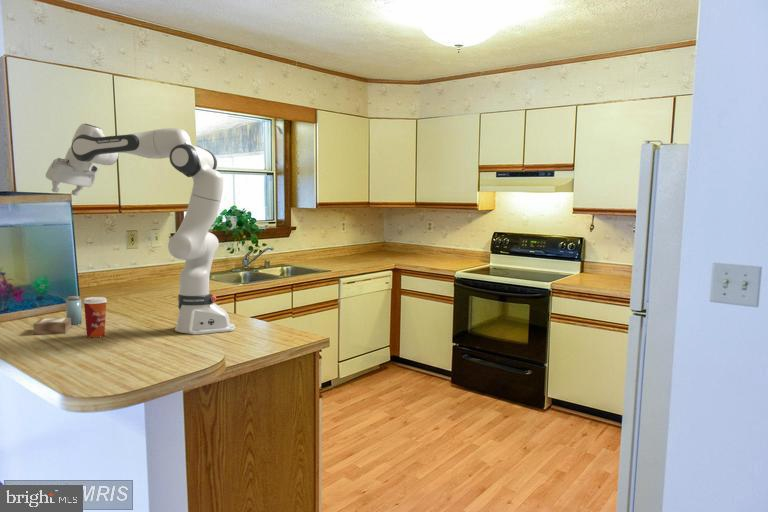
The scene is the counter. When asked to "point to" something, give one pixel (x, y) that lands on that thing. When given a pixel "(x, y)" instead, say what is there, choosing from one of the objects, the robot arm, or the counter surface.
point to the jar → (74, 309)
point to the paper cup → (95, 316)
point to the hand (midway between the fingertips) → (64, 193)
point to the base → (52, 326)
